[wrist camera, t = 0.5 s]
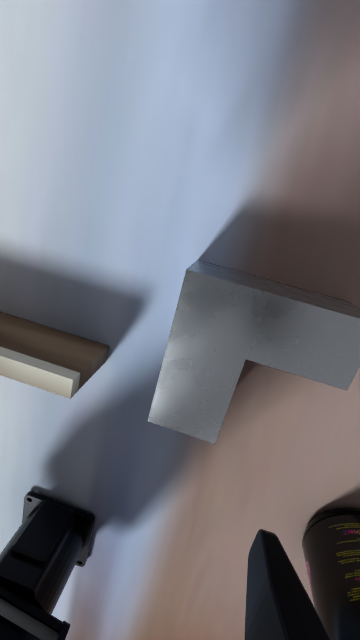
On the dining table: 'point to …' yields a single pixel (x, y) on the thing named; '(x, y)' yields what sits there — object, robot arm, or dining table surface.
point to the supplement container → (335, 570)
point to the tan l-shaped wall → (47, 356)
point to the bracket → (246, 343)
